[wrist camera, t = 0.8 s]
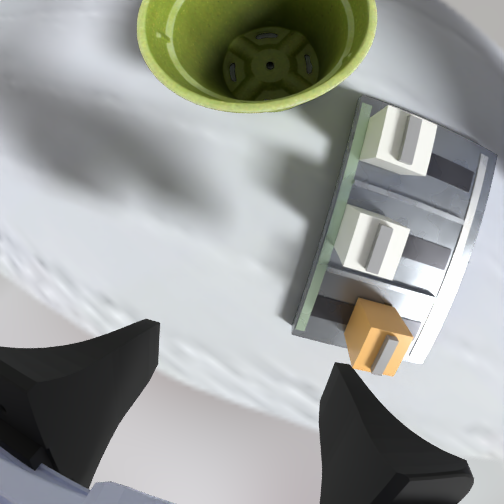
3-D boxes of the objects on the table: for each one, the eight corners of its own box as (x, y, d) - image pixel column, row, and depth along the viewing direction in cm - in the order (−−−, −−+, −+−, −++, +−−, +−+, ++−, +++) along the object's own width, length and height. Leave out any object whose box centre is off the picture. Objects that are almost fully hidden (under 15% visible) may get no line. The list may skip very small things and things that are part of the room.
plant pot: (191, 21, 17) (135, -43, 9) (330, 1, 16) (343, -79, 7) (206, 148, 19) (144, 135, 11) (357, 129, 18) (401, 101, 9)
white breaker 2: (387, 216, 17) (414, 231, 13) (374, 258, 18) (395, 283, 14) (346, 203, 18) (362, 213, 13) (333, 246, 18) (344, 269, 14)
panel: (488, 155, 17) (502, 154, 15) (417, 355, 21) (424, 368, 19) (358, 98, 17) (364, 92, 15) (292, 325, 21) (291, 339, 20)
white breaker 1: (410, 133, 16) (441, 124, 12) (400, 174, 17) (429, 176, 12) (369, 118, 16) (391, 102, 12) (359, 160, 17) (378, 157, 13)
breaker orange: (394, 307, 19) (416, 341, 14) (379, 341, 19) (395, 381, 15) (358, 297, 19) (373, 331, 15) (343, 333, 20) (353, 373, 15)
